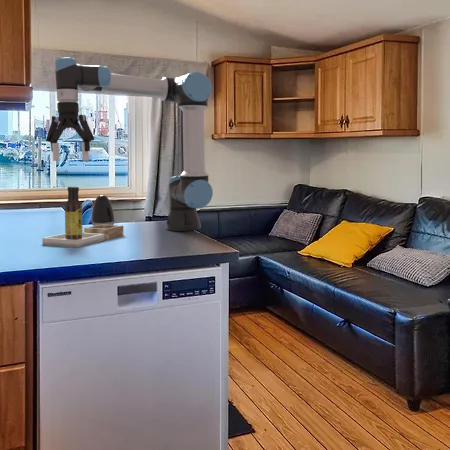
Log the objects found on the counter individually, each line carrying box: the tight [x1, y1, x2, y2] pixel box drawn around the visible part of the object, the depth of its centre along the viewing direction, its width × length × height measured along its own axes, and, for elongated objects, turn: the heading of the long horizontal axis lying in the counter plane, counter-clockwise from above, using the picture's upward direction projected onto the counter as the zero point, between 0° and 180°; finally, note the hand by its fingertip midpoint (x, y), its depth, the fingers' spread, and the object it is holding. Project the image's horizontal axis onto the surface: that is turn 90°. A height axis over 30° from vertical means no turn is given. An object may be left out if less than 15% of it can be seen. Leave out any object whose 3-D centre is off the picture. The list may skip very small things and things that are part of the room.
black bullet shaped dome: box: [90, 194, 116, 226], centre depth 236 cm, size 10×10×15 cm
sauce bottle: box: [64, 186, 84, 240], centre depth 201 cm, size 6×6×20 cm
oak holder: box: [83, 224, 125, 240], centre depth 216 cm, size 11×11×4 cm
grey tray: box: [41, 232, 105, 248], centre depth 202 cm, size 16×16×2 cm
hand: (70, 160), depth 199 cm, fingers open, 13 cm apart
